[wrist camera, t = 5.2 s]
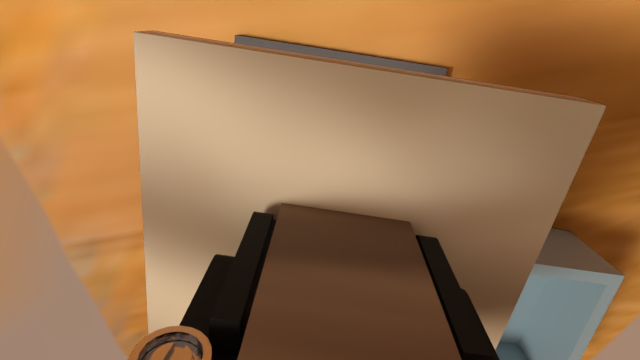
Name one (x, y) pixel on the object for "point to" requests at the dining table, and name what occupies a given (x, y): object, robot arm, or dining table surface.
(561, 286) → the open box
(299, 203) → the lid
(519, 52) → the dining table surface
